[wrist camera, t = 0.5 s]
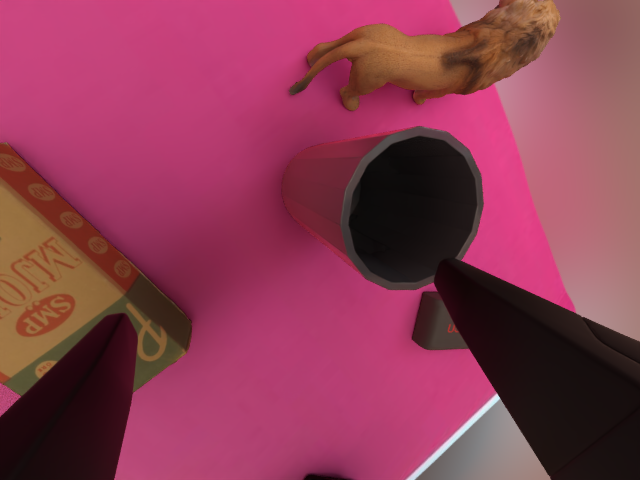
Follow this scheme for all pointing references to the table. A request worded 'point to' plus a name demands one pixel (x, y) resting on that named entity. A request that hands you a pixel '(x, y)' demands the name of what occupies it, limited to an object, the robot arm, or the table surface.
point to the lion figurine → (439, 53)
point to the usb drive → (436, 325)
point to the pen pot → (388, 202)
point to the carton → (69, 285)
